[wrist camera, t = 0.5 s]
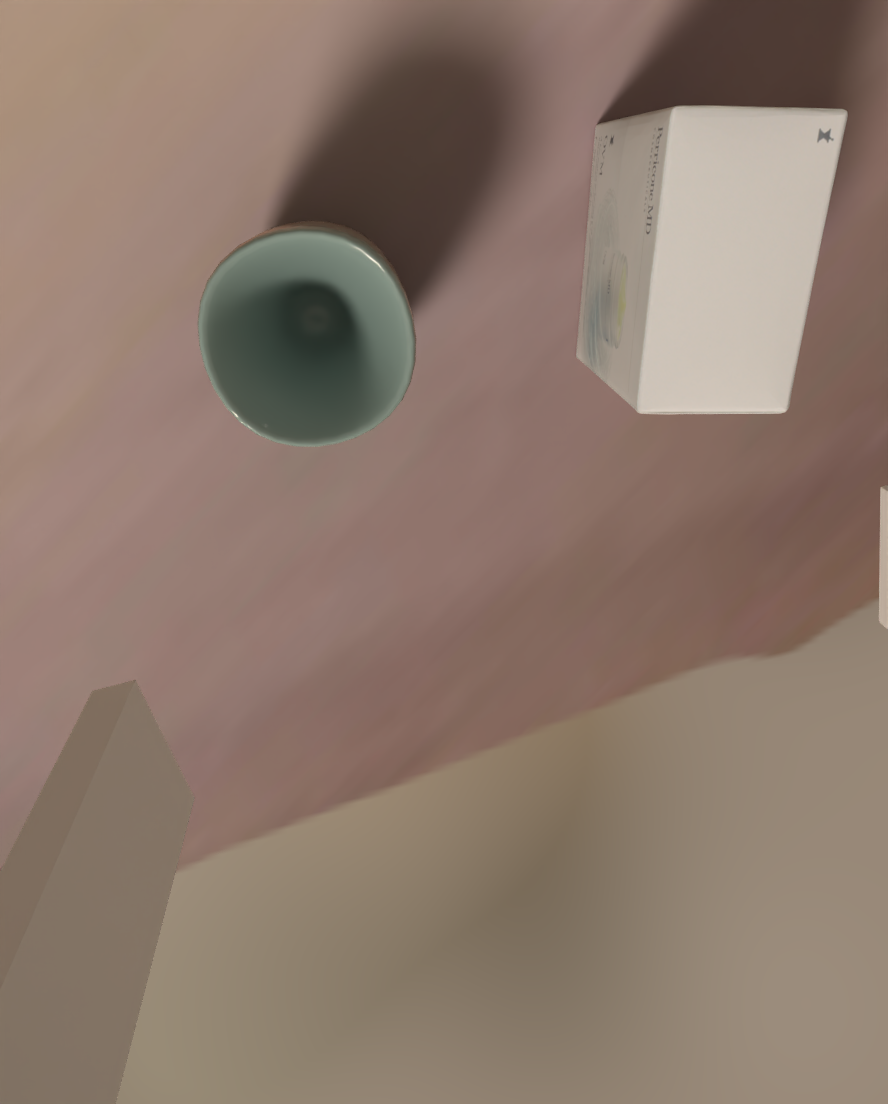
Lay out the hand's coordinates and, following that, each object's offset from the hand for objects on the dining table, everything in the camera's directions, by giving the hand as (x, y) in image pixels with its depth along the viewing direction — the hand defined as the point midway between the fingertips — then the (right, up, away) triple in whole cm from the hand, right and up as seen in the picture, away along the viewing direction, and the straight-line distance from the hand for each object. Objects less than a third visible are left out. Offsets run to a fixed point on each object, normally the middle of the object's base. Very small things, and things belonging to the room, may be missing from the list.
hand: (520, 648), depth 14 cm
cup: (-7, +13, +23) cm, 28 cm away
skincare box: (+8, +16, +24) cm, 30 cm away
